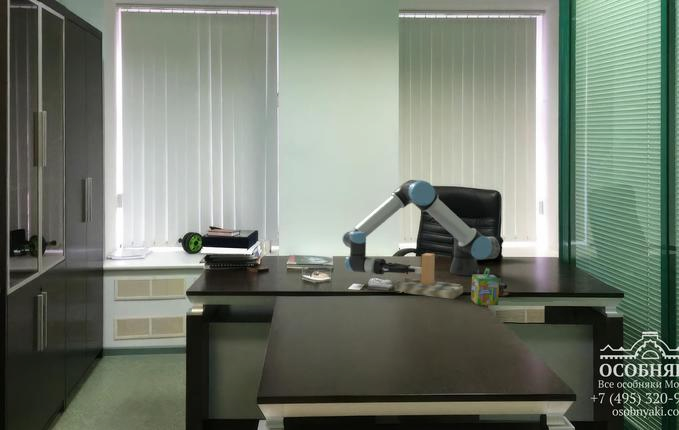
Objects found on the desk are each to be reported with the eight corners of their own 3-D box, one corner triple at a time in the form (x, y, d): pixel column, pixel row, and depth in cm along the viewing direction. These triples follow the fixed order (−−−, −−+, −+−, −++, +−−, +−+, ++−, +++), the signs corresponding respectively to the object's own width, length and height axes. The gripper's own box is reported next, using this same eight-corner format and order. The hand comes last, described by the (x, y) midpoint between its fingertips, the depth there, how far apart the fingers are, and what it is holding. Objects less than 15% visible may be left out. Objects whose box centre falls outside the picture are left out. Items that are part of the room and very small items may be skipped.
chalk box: (470, 300, 250) (471, 266, 249) (491, 300, 251) (492, 266, 250) (477, 305, 241) (478, 270, 240) (498, 305, 242) (500, 270, 240)
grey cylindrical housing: (449, 261, 347) (450, 236, 345) (487, 257, 359) (488, 233, 357) (465, 265, 333) (465, 239, 332) (504, 261, 345) (504, 236, 344)
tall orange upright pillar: (421, 285, 263) (421, 254, 262) (425, 282, 269) (426, 253, 267) (429, 286, 261) (430, 255, 260) (434, 283, 267) (434, 253, 265)
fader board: (394, 291, 266) (394, 282, 266) (405, 286, 278) (405, 277, 277) (453, 299, 253) (453, 289, 252) (462, 293, 264) (462, 283, 264)
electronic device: (503, 297, 255) (504, 281, 255) (484, 294, 262) (485, 277, 262) (509, 296, 258) (509, 279, 258) (490, 292, 265) (490, 276, 265)
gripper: (381, 271, 282) (427, 276, 271) (369, 276, 271) (416, 281, 259) (381, 256, 282) (427, 260, 270) (369, 260, 270) (417, 265, 259)
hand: (422, 270), depth 265 cm, fingers closed
